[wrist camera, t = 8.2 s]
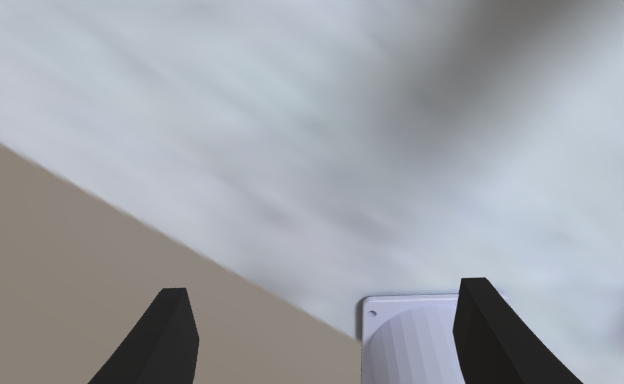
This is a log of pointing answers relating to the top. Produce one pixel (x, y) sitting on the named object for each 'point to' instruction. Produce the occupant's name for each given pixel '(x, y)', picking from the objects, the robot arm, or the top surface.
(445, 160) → the top surface
